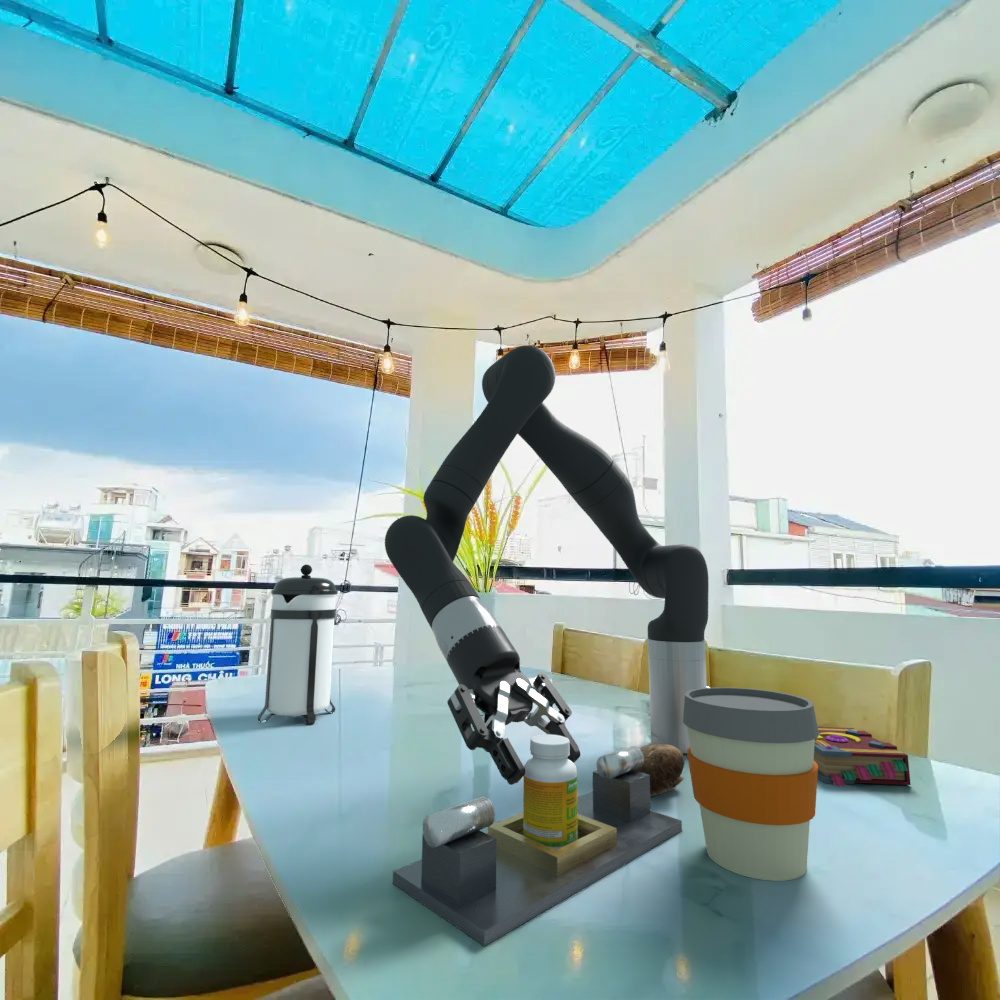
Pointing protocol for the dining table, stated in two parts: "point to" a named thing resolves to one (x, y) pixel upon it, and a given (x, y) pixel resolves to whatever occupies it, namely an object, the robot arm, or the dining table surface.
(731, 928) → the dining table surface
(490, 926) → the shaft bench
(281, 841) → the dining table surface
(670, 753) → the brown rough round lump
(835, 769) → the decorative book
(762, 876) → the reusable coffee cup
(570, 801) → the supplement bottle
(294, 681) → the coffee press
